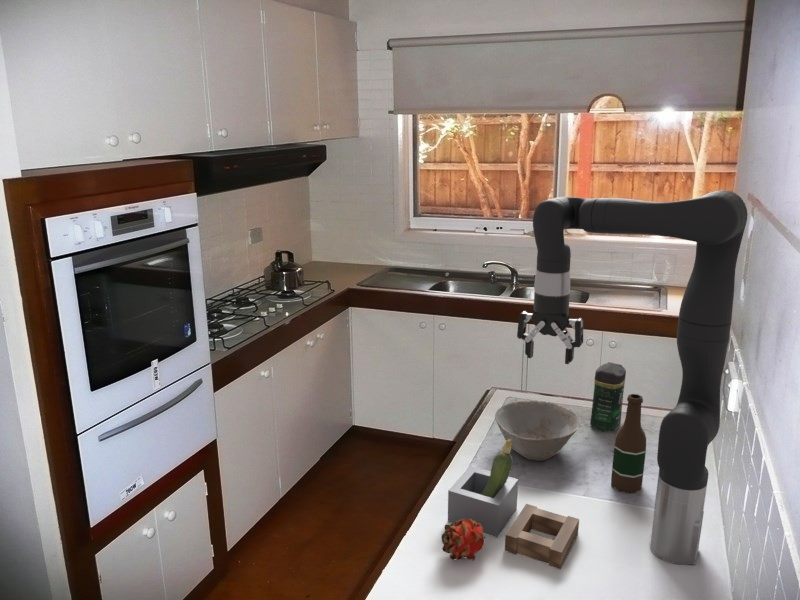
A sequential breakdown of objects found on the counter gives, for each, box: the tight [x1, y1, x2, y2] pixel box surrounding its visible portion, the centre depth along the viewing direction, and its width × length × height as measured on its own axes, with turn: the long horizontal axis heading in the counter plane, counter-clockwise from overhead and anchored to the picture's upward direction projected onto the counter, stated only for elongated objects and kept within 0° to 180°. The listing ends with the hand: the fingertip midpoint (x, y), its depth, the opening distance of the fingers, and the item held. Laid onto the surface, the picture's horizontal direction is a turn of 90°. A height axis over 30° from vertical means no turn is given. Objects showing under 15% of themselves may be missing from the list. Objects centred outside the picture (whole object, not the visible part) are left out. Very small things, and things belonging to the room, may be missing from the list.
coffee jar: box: [589, 362, 627, 433], centre depth 195 cm, size 10×8×19 cm
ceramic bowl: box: [494, 400, 581, 462], centre depth 182 cm, size 22×23×10 cm
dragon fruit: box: [440, 518, 486, 561], centre depth 141 cm, size 8×8×12 cm
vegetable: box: [481, 439, 513, 498], centre depth 153 cm, size 4×4×20 cm
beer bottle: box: [610, 393, 647, 494], centre depth 164 cm, size 8×8×24 cm
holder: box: [447, 465, 519, 539], centre depth 154 cm, size 12×12×8 cm
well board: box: [504, 503, 580, 570], centre depth 145 cm, size 12×13×4 cm
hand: (548, 360), depth 151 cm, fingers open, 8 cm apart
